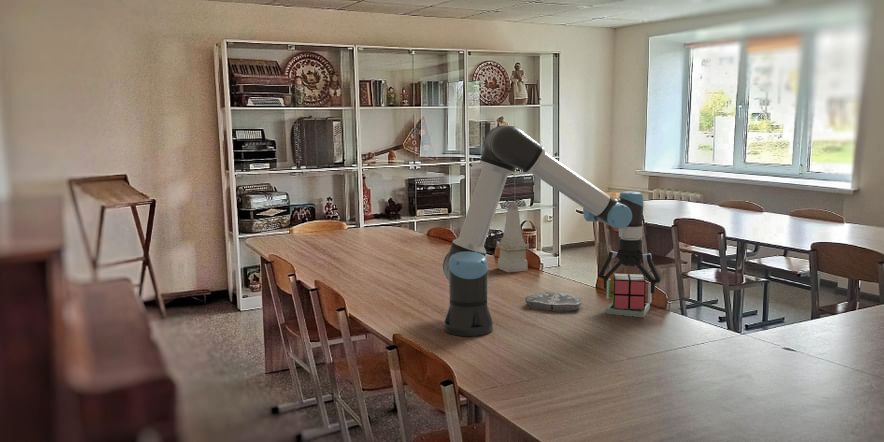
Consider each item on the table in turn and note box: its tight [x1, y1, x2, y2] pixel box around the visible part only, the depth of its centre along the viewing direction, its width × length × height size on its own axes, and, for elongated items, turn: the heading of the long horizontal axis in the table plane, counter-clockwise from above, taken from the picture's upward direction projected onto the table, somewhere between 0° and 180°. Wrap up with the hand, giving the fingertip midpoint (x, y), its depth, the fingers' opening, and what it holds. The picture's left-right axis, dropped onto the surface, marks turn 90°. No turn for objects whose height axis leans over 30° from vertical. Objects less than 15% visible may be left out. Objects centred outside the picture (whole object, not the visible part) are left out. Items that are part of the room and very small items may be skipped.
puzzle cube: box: [612, 273, 647, 310], centre depth 233 cm, size 10×10×10 cm
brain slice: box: [524, 291, 583, 312], centre depth 242 cm, size 20×17×3 cm
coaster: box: [606, 301, 651, 319], centre depth 234 cm, size 12×12×2 cm
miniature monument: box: [496, 201, 530, 273], centre depth 301 cm, size 10×10×30 cm
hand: (628, 300), depth 234 cm, fingers open, 13 cm apart
